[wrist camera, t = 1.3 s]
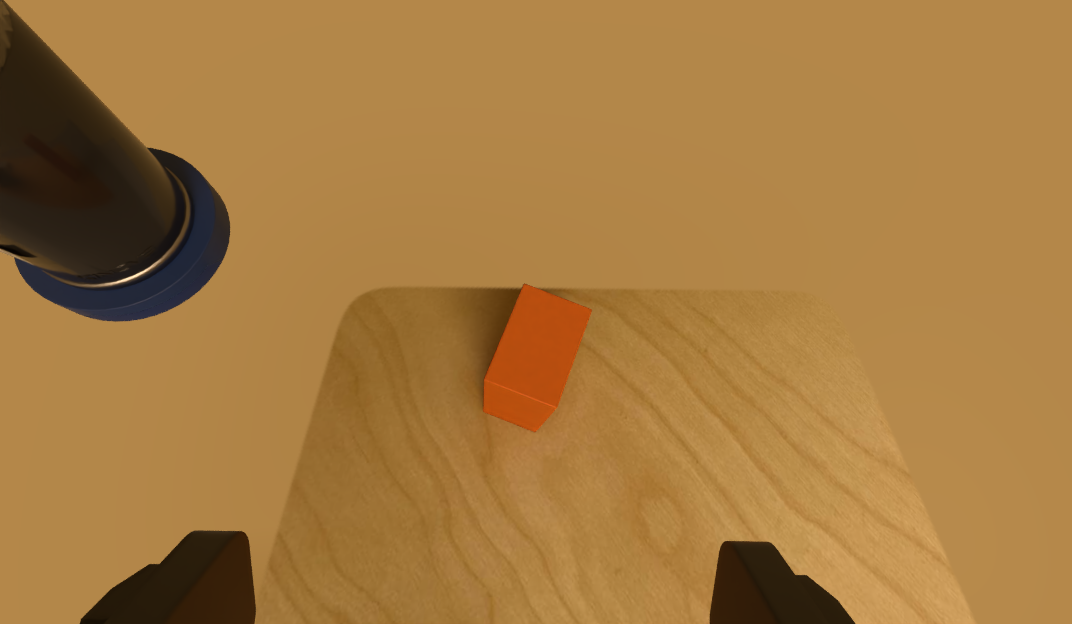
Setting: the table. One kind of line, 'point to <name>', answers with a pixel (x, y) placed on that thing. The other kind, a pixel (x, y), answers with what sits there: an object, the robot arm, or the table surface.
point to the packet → (534, 358)
